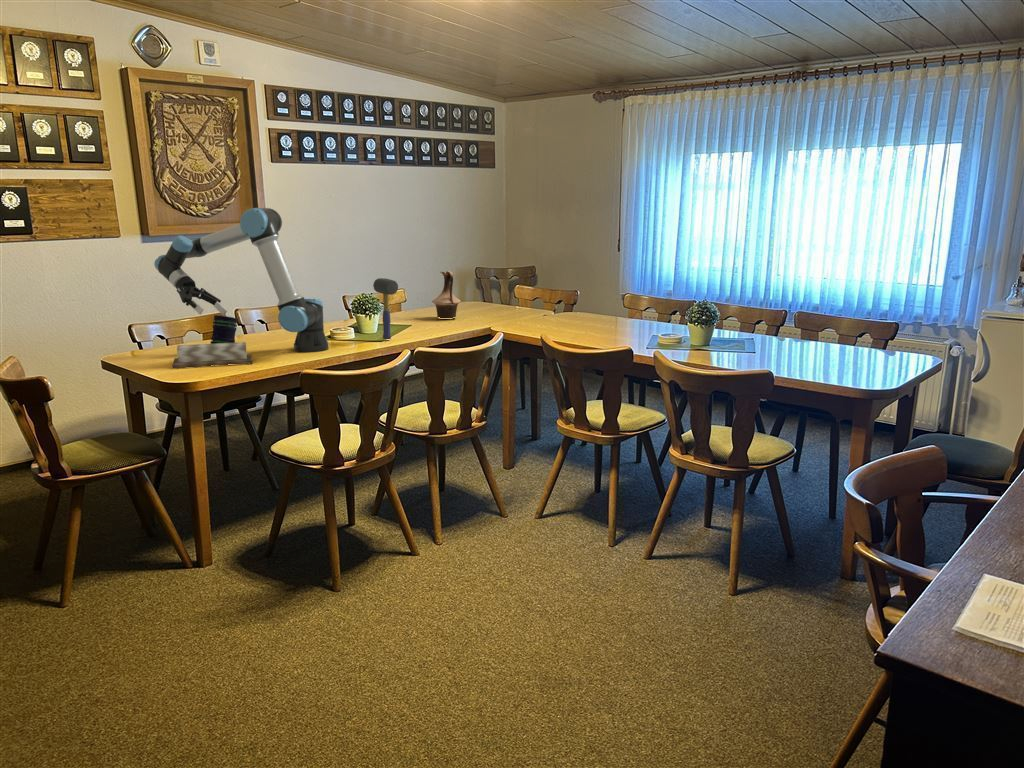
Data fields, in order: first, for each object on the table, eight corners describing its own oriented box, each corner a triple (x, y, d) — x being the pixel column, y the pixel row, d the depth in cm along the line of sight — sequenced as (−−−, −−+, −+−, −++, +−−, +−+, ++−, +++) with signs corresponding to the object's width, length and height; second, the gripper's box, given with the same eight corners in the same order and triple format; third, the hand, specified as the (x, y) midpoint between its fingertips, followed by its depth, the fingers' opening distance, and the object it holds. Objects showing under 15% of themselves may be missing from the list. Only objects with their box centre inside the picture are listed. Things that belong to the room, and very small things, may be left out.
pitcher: (466, 320, 421) (466, 271, 415) (439, 322, 413) (439, 272, 406) (453, 316, 436) (453, 268, 429) (427, 317, 428) (426, 269, 421)
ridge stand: (251, 357, 312) (250, 340, 310) (252, 364, 299) (251, 346, 297) (174, 361, 301) (173, 343, 299) (172, 368, 289) (170, 350, 287)
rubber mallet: (373, 339, 357) (371, 277, 350) (386, 337, 362) (385, 277, 355) (387, 343, 348) (385, 280, 341) (400, 341, 353) (399, 279, 346)
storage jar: (205, 348, 314) (209, 314, 314) (217, 350, 324) (221, 317, 324) (226, 351, 313) (230, 316, 313) (238, 352, 323) (242, 319, 323)
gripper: (200, 291, 327) (230, 320, 322) (155, 287, 304) (187, 318, 299) (208, 277, 325) (238, 306, 320) (163, 272, 302) (195, 304, 297)
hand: (213, 312), depth 310 cm, fingers open, 13 cm apart
